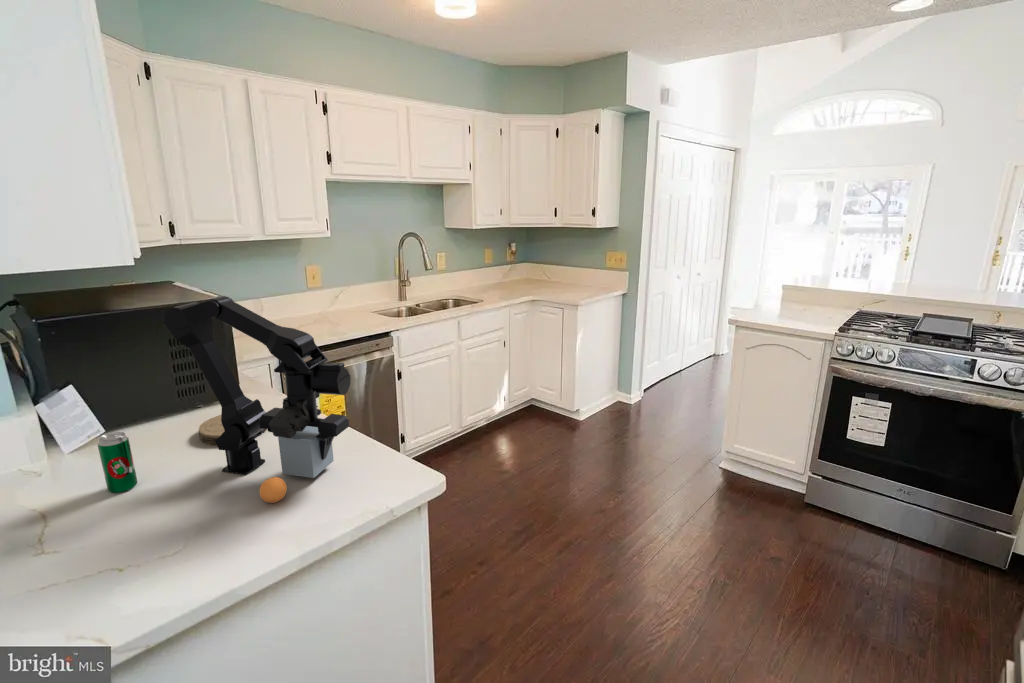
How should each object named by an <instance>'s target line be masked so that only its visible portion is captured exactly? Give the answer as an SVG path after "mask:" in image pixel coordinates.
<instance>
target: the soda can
mask: <svg viewBox="0 0 1024 683" xmlns="http://www.w3.org/2000/svg"><path fill="white" fill-rule="evenodd" d="M130 443H131V442H130V439H129V436H127V435H126V433H125V432H123V431H115V432H110V433H106V434H103V435H102V436H100V437H99V438H98V442H97V448H98V454H99V458H100V462H101V466H102V471H103V475H104V479H105V485H106V487H107V491H108V492H110V493H112V494H121V493H125V492H129V491H131V490H132V489H134V488H135V487H136V486H137V484H138V478H137V472H136V468H135V464H134V463H135V462H134V458H133V453H132V450H131V449H132V448H131V444H130Z"/></svg>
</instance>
